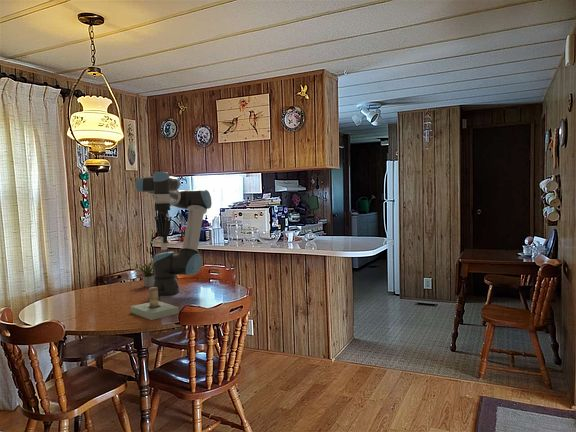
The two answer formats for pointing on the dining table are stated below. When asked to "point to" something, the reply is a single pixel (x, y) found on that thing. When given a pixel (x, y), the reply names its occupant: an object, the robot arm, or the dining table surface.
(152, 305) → the peg
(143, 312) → the seat plank
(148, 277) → the house plant
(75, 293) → the dining table surface
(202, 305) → the dining table surface
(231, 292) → the dining table surface
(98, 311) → the dining table surface
